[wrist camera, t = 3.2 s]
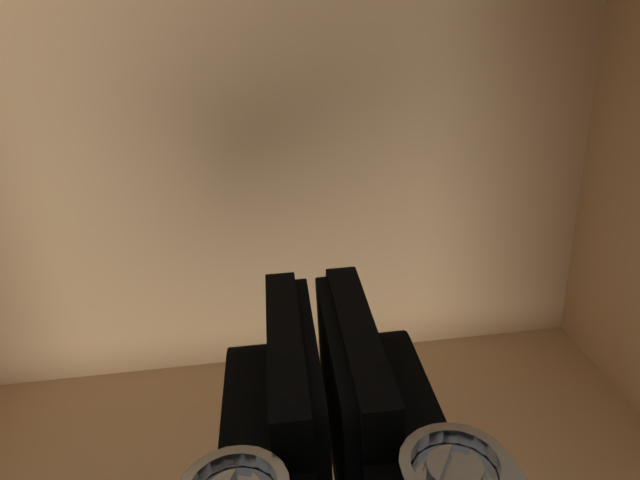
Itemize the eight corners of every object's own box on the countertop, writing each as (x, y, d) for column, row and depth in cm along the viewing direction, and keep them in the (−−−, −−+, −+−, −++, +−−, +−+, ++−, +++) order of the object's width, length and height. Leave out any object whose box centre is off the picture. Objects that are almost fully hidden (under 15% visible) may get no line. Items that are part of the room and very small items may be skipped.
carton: (642, -156, 18) (954, -277, 10) (567, 347, 26) (707, 508, 18) (-204, -120, 17) (-662, -233, 8) (-10, 408, 24) (-146, 618, 16)
